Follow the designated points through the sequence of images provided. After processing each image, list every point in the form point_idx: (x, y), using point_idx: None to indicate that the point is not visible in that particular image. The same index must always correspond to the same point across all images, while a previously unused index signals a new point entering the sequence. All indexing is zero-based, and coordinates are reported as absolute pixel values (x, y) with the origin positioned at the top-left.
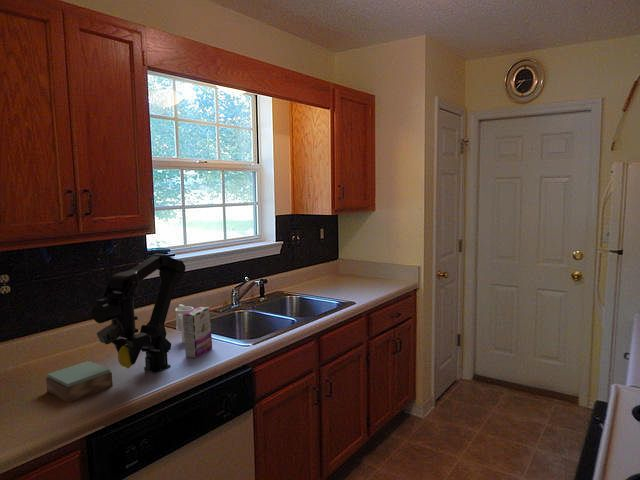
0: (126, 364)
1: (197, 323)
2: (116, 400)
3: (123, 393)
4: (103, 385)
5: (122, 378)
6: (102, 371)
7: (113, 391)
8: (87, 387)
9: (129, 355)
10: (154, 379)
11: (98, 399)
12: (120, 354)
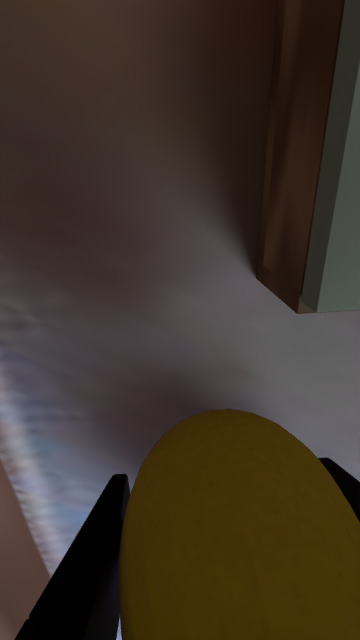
0: (158, 443)
1: None
2: (6, 172)
3: (89, 264)
4: (271, 215)
5: (301, 364)
6: (345, 234)
7: (173, 239)
8: (302, 38)
9: (90, 603)
10: (138, 450)
11: (128, 85)
12: (244, 556)
